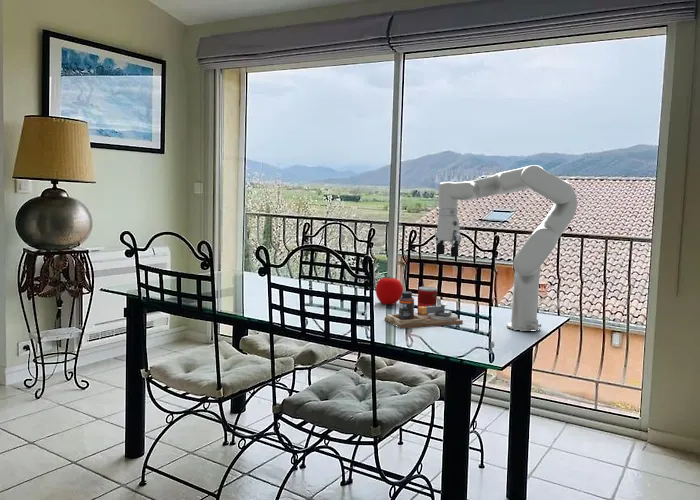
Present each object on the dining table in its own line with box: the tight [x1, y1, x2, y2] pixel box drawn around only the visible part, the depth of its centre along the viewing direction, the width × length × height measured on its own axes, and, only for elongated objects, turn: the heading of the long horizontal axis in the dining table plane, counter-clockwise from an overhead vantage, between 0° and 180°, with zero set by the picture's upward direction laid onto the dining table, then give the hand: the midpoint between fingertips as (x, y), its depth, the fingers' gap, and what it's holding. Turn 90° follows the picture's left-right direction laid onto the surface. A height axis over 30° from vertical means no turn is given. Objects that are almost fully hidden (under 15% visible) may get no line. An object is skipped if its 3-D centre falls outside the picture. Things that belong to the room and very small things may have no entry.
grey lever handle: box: [417, 303, 452, 316], centre depth 257 cm, size 15×7×4 cm, turn 117°
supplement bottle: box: [398, 290, 415, 320], centre depth 252 cm, size 6×6×11 cm
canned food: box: [417, 286, 438, 315], centre depth 270 cm, size 8×8×11 cm
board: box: [384, 313, 464, 329], centre depth 256 cm, size 14×29×3 cm, turn 113°
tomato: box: [375, 275, 404, 305], centre depth 288 cm, size 12×12×13 cm
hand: (447, 255), depth 257 cm, fingers open, 9 cm apart
